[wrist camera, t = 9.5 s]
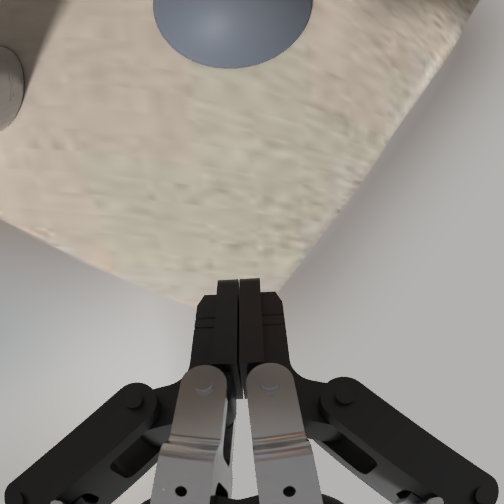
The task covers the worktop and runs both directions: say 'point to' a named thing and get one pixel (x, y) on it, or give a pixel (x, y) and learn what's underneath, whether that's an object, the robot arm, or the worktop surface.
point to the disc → (231, 29)
